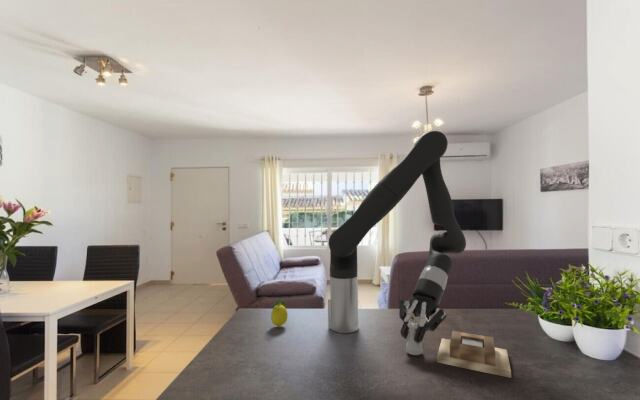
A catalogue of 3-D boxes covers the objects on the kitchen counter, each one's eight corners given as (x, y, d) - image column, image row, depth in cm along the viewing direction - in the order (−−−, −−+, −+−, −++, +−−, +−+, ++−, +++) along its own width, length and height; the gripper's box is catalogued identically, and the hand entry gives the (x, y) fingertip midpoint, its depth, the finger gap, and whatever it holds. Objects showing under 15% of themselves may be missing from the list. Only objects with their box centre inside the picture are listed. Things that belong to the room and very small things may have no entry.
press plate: (461, 348, 76) (461, 345, 76) (462, 341, 81) (462, 338, 81) (482, 352, 74) (482, 349, 74) (482, 344, 78) (482, 341, 78)
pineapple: (272, 332, 96) (272, 301, 96) (266, 326, 101) (266, 296, 101) (291, 328, 99) (291, 298, 100) (285, 322, 104) (284, 293, 105)
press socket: (437, 362, 76) (436, 344, 76) (442, 343, 86) (441, 327, 87) (511, 378, 68) (510, 358, 68) (506, 355, 79) (506, 338, 79)
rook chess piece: (424, 356, 78) (423, 325, 78) (406, 355, 79) (405, 324, 79) (421, 348, 82) (420, 319, 83) (404, 347, 83) (404, 318, 83)
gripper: (404, 273, 91) (381, 324, 83) (450, 281, 81) (429, 340, 72) (414, 288, 95) (393, 338, 86) (459, 297, 84) (440, 355, 76)
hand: (409, 339), depth 79 cm, fingers closed on rook chess piece, 3 cm apart
